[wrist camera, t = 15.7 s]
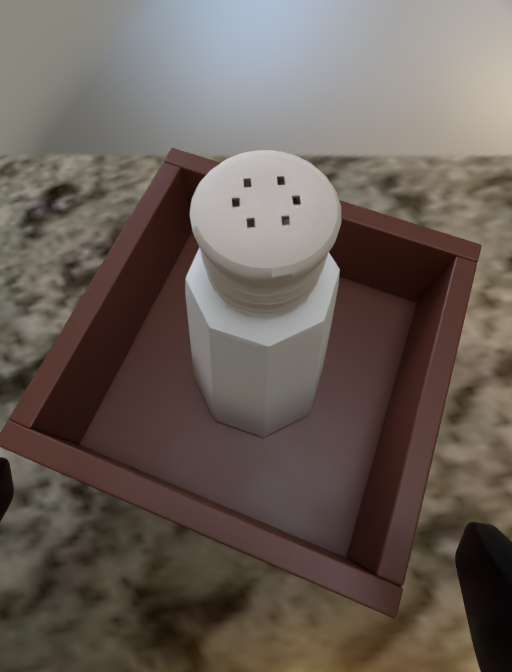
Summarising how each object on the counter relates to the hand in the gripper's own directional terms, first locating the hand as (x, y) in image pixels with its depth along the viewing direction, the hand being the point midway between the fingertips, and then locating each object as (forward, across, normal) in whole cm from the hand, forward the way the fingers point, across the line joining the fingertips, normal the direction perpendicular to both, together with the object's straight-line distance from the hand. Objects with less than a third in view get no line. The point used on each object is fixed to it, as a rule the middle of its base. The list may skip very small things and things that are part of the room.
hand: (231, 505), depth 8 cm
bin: (+10, 0, +2) cm, 10 cm away
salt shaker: (+10, 0, +2) cm, 10 cm away
